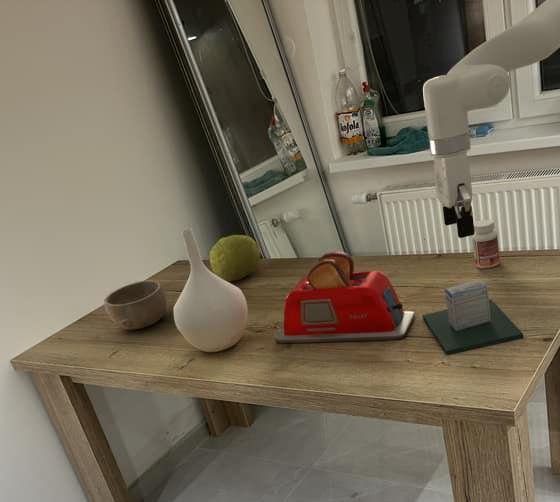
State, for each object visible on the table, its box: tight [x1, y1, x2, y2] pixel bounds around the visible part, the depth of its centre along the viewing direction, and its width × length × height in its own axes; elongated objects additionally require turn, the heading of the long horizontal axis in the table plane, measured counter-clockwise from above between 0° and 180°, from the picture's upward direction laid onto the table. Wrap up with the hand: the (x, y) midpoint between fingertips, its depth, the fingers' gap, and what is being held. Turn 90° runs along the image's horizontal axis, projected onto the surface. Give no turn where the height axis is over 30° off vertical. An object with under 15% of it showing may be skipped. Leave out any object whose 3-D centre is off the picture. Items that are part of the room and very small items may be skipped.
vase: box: [173, 228, 249, 353], centre depth 166 cm, size 18×18×30 cm
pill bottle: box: [472, 219, 501, 269], centre depth 176 cm, size 6×6×11 cm
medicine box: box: [444, 279, 491, 331], centre depth 146 cm, size 8×4×9 cm, turn 99°
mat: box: [422, 299, 524, 356], centre depth 148 cm, size 16×20×1 cm
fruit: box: [209, 234, 261, 283], centre depth 213 cm, size 16×14×15 cm
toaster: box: [274, 251, 416, 344], centre depth 158 cm, size 32×13×19 cm, turn 68°
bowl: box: [103, 280, 167, 331], centre depth 196 cm, size 17×18×10 cm
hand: (459, 229), depth 139 cm, fingers open, 9 cm apart
